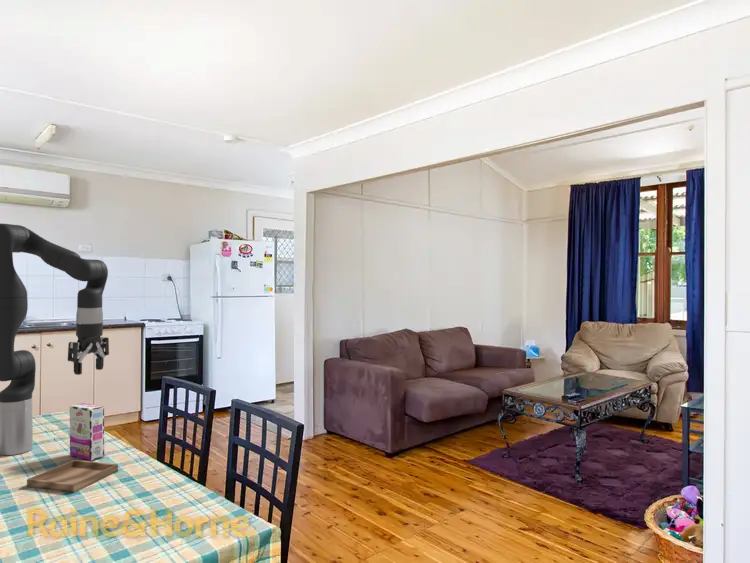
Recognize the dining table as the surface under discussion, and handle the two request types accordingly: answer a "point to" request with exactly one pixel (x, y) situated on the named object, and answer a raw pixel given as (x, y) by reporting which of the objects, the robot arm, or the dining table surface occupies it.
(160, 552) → the dining table surface
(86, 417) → the candy bar box
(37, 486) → the walnut tray
